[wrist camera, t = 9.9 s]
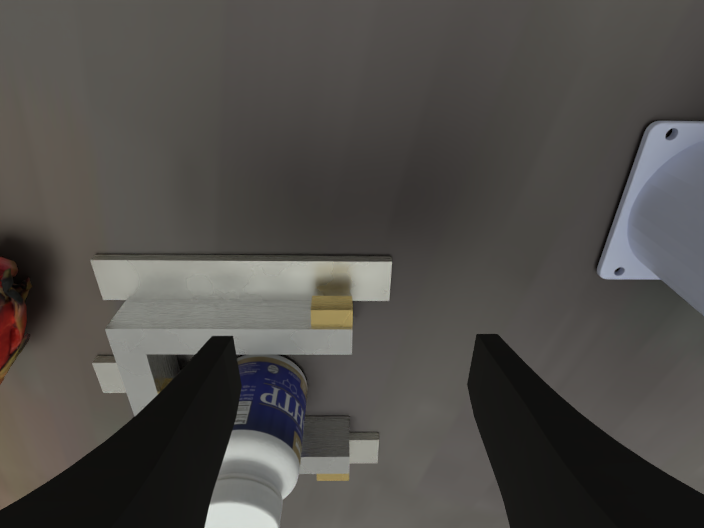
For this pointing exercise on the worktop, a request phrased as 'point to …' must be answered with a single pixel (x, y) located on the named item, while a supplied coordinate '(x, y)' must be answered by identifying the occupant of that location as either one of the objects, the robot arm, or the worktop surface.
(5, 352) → the dragon fruit
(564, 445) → the robot arm
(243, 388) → the pill bottle
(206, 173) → the worktop surface
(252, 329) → the socket
